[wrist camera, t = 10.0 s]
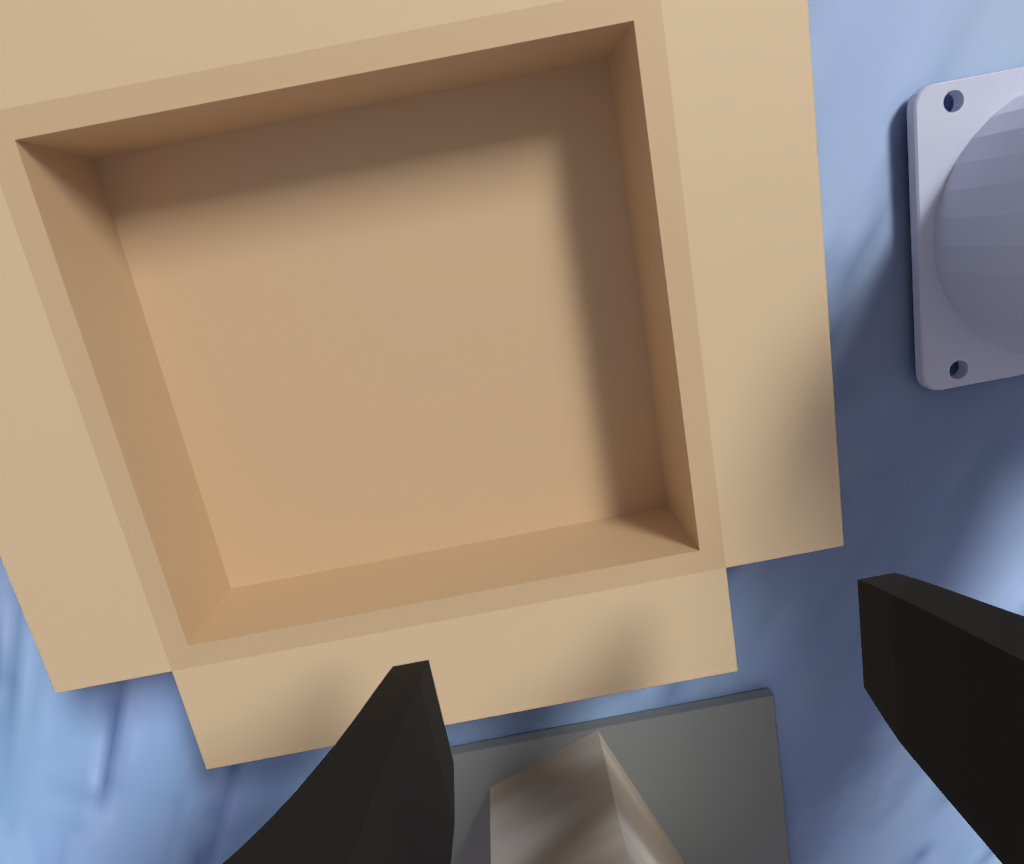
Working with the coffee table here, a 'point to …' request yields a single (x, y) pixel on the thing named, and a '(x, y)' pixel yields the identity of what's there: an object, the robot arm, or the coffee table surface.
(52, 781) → the coffee table surface
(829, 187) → the coffee table surface
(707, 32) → the carton
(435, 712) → the robot arm
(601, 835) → the block
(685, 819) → the slate mat
